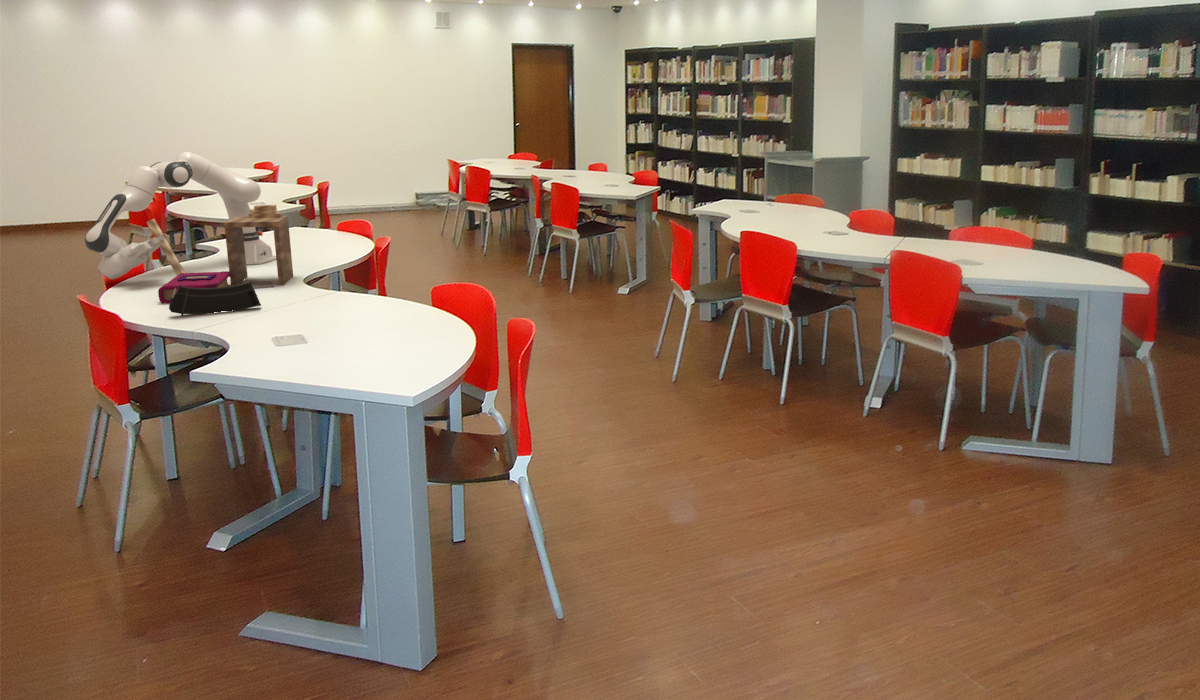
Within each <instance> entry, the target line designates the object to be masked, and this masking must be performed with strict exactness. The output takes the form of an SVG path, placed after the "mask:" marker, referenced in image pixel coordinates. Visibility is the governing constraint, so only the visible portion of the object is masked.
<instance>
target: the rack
mask: <svg viewBox="0 0 1200 700" xmlns="http://www.w3.org/2000/svg"><path fill="white" fill-rule="evenodd" d="M250 209H251V210H250V214H248V215H249V216H241V217H235V218H232V219H230V220H229V219H228V220H227V221H225V222H223V225H224V226H223V227H224V233H225V236H224V237H225V244H226V252H227V253H226V254H227V262H228V271H231V276H230V277H229V279H230V280H229V281H230V285H232V286H234V285H239V283H240V282H241V283H243V282H244V281H245V280H246V279H248V277H249V276H248V268H247V265H246V257H245V247H244V237H243V228H242V227H255V228H271V227H272V228H273V237H274V238H273V239H274V248H275V249H274V250H275V256H276V259H275V260H276V269H277V270H276V271H277V280H278V282H277V283H278V285H279V286H284V285H286V284H287V283H288V282H289V281H290V280H291V279H293V278H294V270H293V259H292V249H291V236H290V235H291V234H290V226H289V215H282V212H281V211H278V208H277V204H256V205H254V206H253V208H250ZM244 279H245V280H244ZM243 280H244V281H243ZM241 283H240V284H241Z"/></svg>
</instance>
